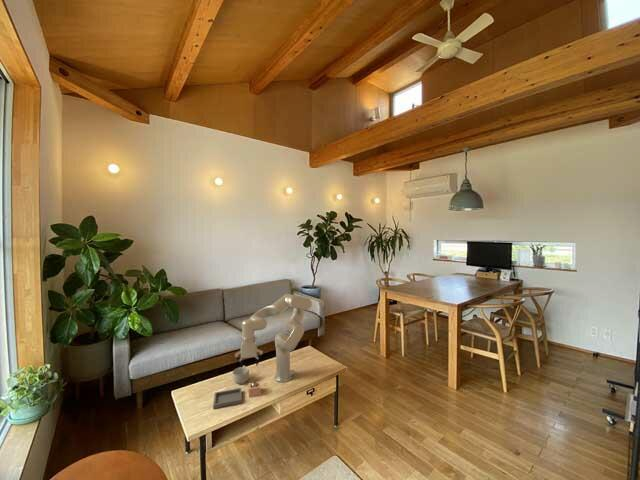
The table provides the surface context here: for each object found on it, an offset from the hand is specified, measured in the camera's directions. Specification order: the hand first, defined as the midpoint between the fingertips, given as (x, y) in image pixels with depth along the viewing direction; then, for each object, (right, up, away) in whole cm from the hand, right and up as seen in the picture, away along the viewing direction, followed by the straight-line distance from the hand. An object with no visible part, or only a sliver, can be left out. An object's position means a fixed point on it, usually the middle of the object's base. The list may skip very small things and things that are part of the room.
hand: (249, 365), depth 172 cm
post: (+3, -18, 0) cm, 18 cm away
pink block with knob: (+3, -18, 0) cm, 18 cm away
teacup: (-9, -18, +15) cm, 25 cm away
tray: (-11, -18, -7) cm, 22 cm away
